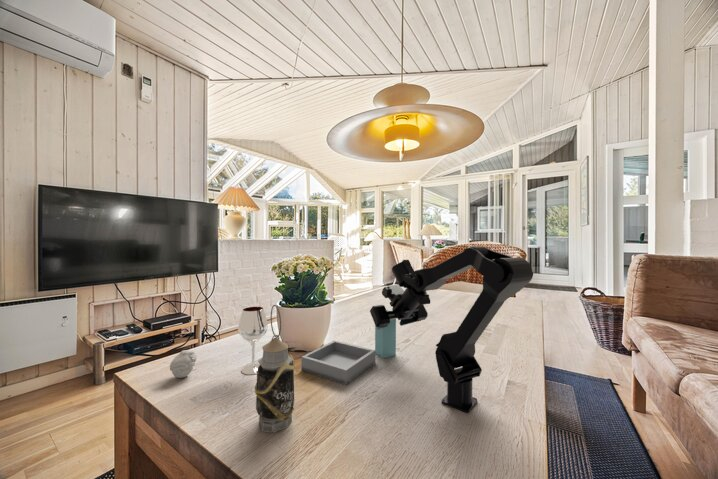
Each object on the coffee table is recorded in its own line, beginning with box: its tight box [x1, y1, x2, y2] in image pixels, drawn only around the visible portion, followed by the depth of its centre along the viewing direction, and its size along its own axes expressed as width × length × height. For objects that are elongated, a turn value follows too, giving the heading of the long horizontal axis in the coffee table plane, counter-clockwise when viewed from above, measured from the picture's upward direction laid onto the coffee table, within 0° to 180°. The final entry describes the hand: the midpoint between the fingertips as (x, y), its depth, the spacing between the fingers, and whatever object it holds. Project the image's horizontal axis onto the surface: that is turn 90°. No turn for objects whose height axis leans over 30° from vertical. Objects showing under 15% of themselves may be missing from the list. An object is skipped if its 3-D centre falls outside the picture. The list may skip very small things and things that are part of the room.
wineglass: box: [237, 306, 269, 376], centre depth 87 cm, size 8×8×18 cm
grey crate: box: [300, 340, 376, 386], centre depth 89 cm, size 16×16×4 cm
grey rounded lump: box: [169, 349, 197, 379], centre depth 82 cm, size 6×7×7 cm
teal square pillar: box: [374, 309, 397, 359], centre depth 99 cm, size 5×5×14 cm
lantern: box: [254, 304, 296, 433], centre depth 62 cm, size 9×8×25 cm
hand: (388, 326), depth 97 cm, fingers open, 9 cm apart
